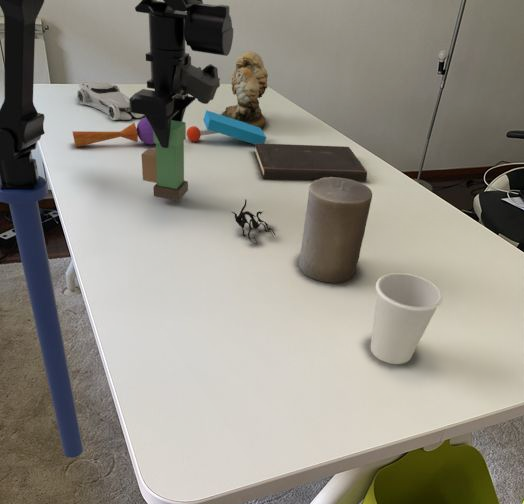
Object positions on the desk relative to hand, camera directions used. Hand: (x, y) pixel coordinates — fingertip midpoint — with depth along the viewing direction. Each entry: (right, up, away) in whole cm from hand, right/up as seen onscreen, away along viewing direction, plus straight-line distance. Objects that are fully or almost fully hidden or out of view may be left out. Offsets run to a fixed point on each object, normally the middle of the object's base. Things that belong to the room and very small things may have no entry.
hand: (169, 143), depth 99 cm
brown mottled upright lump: (+12, +24, +49) cm, 56 cm away
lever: (+8, +14, +36) cm, 39 cm away
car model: (-24, +28, +49) cm, 61 cm away
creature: (+15, -17, -1) cm, 23 cm away
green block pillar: (-5, -5, +5) cm, 9 cm away
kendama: (-16, +10, +28) cm, 34 cm away
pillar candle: (+27, -24, -8) cm, 37 cm away
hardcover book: (+27, +4, +27) cm, 38 cm away
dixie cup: (+34, -38, -24) cm, 56 cm away
